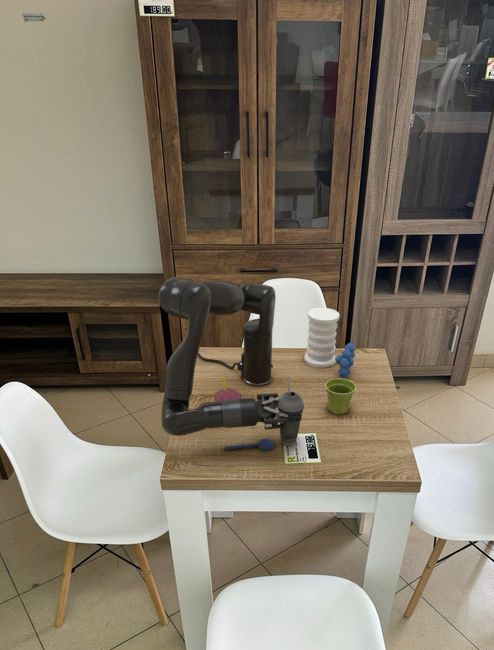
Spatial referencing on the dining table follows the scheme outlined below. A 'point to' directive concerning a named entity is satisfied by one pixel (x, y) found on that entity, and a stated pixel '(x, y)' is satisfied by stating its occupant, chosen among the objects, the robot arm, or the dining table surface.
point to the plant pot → (339, 394)
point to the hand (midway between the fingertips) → (297, 408)
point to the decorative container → (321, 337)
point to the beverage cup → (288, 404)
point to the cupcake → (226, 393)
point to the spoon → (255, 445)
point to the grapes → (346, 360)
